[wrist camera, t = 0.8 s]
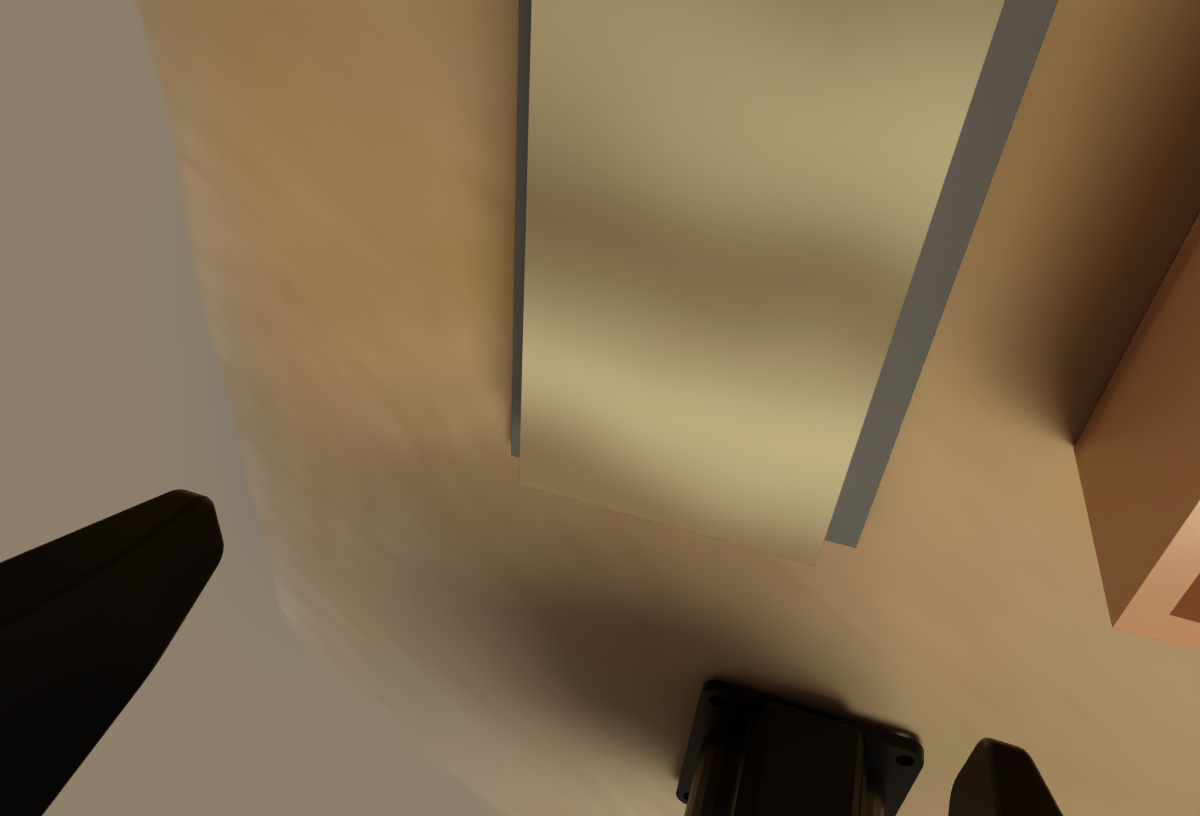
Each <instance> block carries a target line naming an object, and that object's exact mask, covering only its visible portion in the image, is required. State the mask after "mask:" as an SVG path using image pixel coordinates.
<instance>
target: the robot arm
mask: <svg viewBox="0 0 1200 816" xmlns="http://www.w3.org/2000/svg"><path fill="white" fill-rule="evenodd" d="M223 548H224V543H223V538H222V534H221V530H220V527H219V523H218V519H217V515H216V511H215V507H214V504H213V502H212V501H211V500H210V499H209V498H208V497H206V496H203V495H200V494H197V493H194V492H190V491H187V490H181V489H179V490H173V491H170V492H168V493H165V494H163V495H160V496H158V497H155V498H153V499H151V500H148V501H146V502H143V503H141V504H139V505H136V506H134V507H132V508H129V509H127V510H124V511H122V512H120V513H117V514H115V515H112V516H110V517H108V518H105V519H103V520H101V521H98V522H96V523H93V524H91V525H89V526H86V527H84V528H81V529H79V530H77V531H74V532H72V533H69V534H67V535H65V536H62V537H60V538H58V539H55V540H53V541H51V542H48V543H46V544H43V545H41V546H38V547H36V548H34V549H31V550H29V551H26V552H24V553H22V554H19V555H17V556H15V557H12V558H10V559H7V560H5V561H3V562H1V563H0V816H42V815H43V814H44V813H45V811H46V810H47V809H48V807H49V806H50V805H51V803H52V802H53V801H54V799H55V798H56V797H57V795H58V794H59V793H60V792H61V790H62V789H63V788H64V786H65V785H66V784H67V782H68V781H69V780H70V778H71V777H72V776H73V774H74V773H75V772H76V771H77V769H78V768H79V767H80V765H81V764H82V763H83V761H84V760H85V759H86V757H87V756H88V755H89V754H90V752H91V751H92V750H93V748H94V747H95V746H96V744H97V742H99V740H100V739H101V738H102V736H103V735H104V734H105V732H106V731H107V730H108V729H109V727H110V726H111V725H112V723H113V722H114V721H115V719H116V718H117V717H118V715H119V714H120V713H121V712H122V710H123V709H124V708H125V706H126V705H127V704H128V702H129V701H130V700H131V698H132V697H133V696H134V694H135V693H136V692H137V691H138V689H139V688H140V687H141V685H142V684H143V682H144V681H145V679H146V678H147V677H148V676H149V674H150V673H151V671H152V670H153V668H154V667H155V666H156V664H157V663H158V661H159V660H160V658H161V657H162V655H163V653H164V652H165V650H166V648H167V647H168V645H169V644H170V642H171V641H172V639H173V637H174V636H175V634H176V632H177V631H178V629H179V628H180V626H181V624H182V623H183V621H184V620H185V618H186V616H187V615H188V613H189V611H190V610H191V608H192V607H193V605H194V603H195V602H196V600H197V598H198V597H199V595H200V594H201V592H202V590H203V589H204V587H205V585H206V584H207V582H208V581H209V579H210V577H211V576H212V574H213V572H214V571H215V569H216V567H217V566H218V564H219V562H220V560H221V557H222V554H223ZM923 764H924V749H923V747H922V745H920V744H919V743H918V742H917V741H914V740H912V739H910V738H906V737H903V736H900V735H897V734H893V733H890V732H887V731H884V730H880V729H877V728H874V727H871V726H867V725H864V724H861V723H858V722H854V721H851V720H848V719H845V718H841V717H838V716H835V715H832V714H828V713H825V712H822V711H819V710H816V709H812V708H809V707H806V706H803V705H799V704H796V703H793V702H790V701H786V700H783V699H780V698H777V697H773V696H770V695H767V694H764V693H760V692H757V691H754V690H751V689H747V688H744V687H741V686H738V685H734V684H731V683H728V682H725V681H721V680H716V679H714V680H708V681H706V682H705V683H704V685H703V687H702V691H701V695H700V699H699V703H698V707H697V711H696V715H695V719H694V723H693V727H692V731H691V735H690V739H689V743H688V747H687V751H686V755H685V759H684V763H683V767H682V771H681V775H680V779H679V783H678V787H677V791H676V796H677V797H678V799H679V800H680V801H682V802H683V803H685V804H687V806H686V810H685V814H684V816H895V815H896V814H897V812H898V810H899V808H900V807H901V805H902V803H903V801H904V799H905V798H906V796H907V794H908V792H909V791H910V789H911V787H912V785H913V783H914V782H915V780H916V778H917V776H918V775H919V773H920V771H921V769H922V767H923ZM948 816H1063V814H1062V813H1061V811H1060V809H1059V807H1058V805H1057V804H1056V802H1055V800H1054V798H1053V796H1052V794H1051V793H1050V791H1049V789H1048V787H1047V785H1046V783H1045V782H1044V780H1043V778H1042V776H1041V774H1040V772H1039V771H1038V769H1037V767H1036V765H1035V763H1034V762H1033V760H1032V758H1031V756H1030V755H1029V754H1028V753H1027V752H1026V751H1025V750H1024V749H1022V748H1020V747H1018V746H1015V745H1011V744H1008V743H1005V742H1002V741H998V740H995V739H992V738H983V739H982V740H980V741H979V742H978V743H977V745H976V746H975V748H974V750H973V751H972V753H971V755H970V756H969V758H968V759H967V761H966V763H965V764H964V766H963V768H962V769H961V771H960V772H959V774H958V776H957V777H956V779H955V781H954V784H953V787H952V791H951V796H950V803H949V814H948Z"/></svg>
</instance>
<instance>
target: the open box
mask: <svg viewBox="0 0 1200 816" xmlns="http://www.w3.org/2000/svg"><path fill="white" fill-rule="evenodd" d="M1074 452H1075V457H1076V462H1077V466H1078V471H1079V475H1080V480H1081V485H1082V489H1083V494H1084V499H1085V503H1086V508H1087V513H1088V517H1089V522H1090V526H1091V531H1092V536H1093V540H1094V545H1095V550H1096V554H1097V559H1098V563H1099V568H1100V573H1101V577H1102V582H1103V587H1104V591H1105V596H1106V601H1107V605H1108V610H1109V614H1110V619H1111V624H1112V628H1115V629H1118V630H1122V631H1126V632H1129V633H1133V634H1137V635H1140V636H1144V637H1148V638H1151V639H1155V640H1159V641H1162V642H1166V643H1170V644H1173V645H1177V646H1181V647H1185V648H1188V649H1192V650H1196V651H1199V652H1200V213H1199V215H1198V217H1197V219H1196V220H1195V222H1194V224H1193V226H1192V228H1191V230H1190V232H1189V234H1188V235H1187V237H1186V239H1185V241H1184V243H1183V245H1182V247H1181V248H1180V250H1179V252H1178V254H1177V256H1176V258H1175V260H1174V262H1173V263H1172V265H1171V267H1170V269H1169V271H1168V273H1167V275H1166V276H1165V278H1164V280H1163V282H1162V284H1161V286H1160V288H1159V290H1158V291H1157V293H1156V295H1155V297H1154V299H1153V301H1152V303H1151V304H1150V306H1149V308H1148V310H1147V312H1146V314H1145V316H1144V318H1143V319H1142V321H1141V323H1140V325H1139V327H1138V329H1137V331H1136V332H1135V334H1134V336H1133V338H1132V340H1131V342H1130V344H1129V346H1128V347H1127V349H1126V351H1125V353H1124V355H1123V357H1122V359H1121V361H1120V362H1119V364H1118V366H1117V368H1116V370H1115V372H1114V374H1113V375H1112V377H1111V379H1110V381H1109V383H1108V385H1107V387H1106V389H1105V390H1104V392H1103V394H1102V396H1101V398H1100V400H1099V402H1098V403H1097V405H1096V407H1095V409H1094V411H1093V413H1092V415H1091V417H1090V418H1089V420H1088V422H1087V424H1086V426H1085V428H1084V430H1083V431H1082V433H1081V435H1080V437H1079V439H1078V441H1077V443H1076V445H1075V446H1074Z"/></svg>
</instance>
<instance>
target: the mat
mask: <svg viewBox="0 0 1200 816" xmlns="http://www.w3.org/2000/svg"><path fill="white" fill-rule="evenodd" d="M1057 2H1058V0H1005V1H1004V4H1003V7H1002V10H1001V13H1000V16H999V19H998V22H997V25H996V28H995V31H994V34H993V37H992V40H991V43H990V46H989V49H988V52H987V55H986V58H985V61H984V64H983V67H982V70H981V73H980V76H979V79H978V82H977V85H976V88H975V91H974V94H973V97H972V100H971V103H970V106H969V109H968V112H967V115H966V118H965V121H964V124H963V127H962V130H961V133H960V136H959V139H958V142H957V145H956V148H955V150H954V153H953V156H952V159H951V162H950V165H949V168H948V171H947V174H946V177H945V180H944V183H943V186H942V189H941V192H940V195H939V198H938V201H937V204H936V207H935V210H934V213H933V216H932V219H931V222H930V225H929V228H928V231H927V234H926V237H925V240H924V243H923V246H922V249H921V252H920V255H919V258H918V261H917V264H916V267H915V270H914V273H913V276H912V279H911V282H910V285H909V288H908V291H907V294H906V297H905V300H904V303H903V306H902V309H901V312H900V315H899V318H898V321H897V324H896V327H895V330H894V333H893V336H892V339H891V342H890V345H889V348H888V351H887V354H886V357H885V360H884V363H883V366H882V369H881V372H880V375H879V378H878V381H877V384H876V387H875V390H874V393H873V396H872V399H871V402H870V405H869V408H868V411H867V414H866V417H865V420H864V423H863V426H862V429H861V432H860V435H859V438H858V441H857V444H856V447H855V450H854V453H853V456H852V458H851V461H850V464H849V467H848V470H847V473H846V476H845V479H844V482H843V485H842V488H841V491H840V494H839V497H838V500H837V503H836V506H835V509H834V512H833V515H832V518H831V521H830V524H829V527H828V530H827V533H826V536H825V539H824V540H828V541H831V542H835V543H839V544H843V545H846V546H850V547H854V548H856V546H857V543H858V541H859V538H860V535H861V533H862V530H863V527H864V524H865V522H866V519H867V516H868V514H869V511H870V508H871V505H872V503H873V500H874V497H875V495H876V492H877V489H878V487H879V484H880V481H881V478H882V476H883V473H884V470H885V468H886V465H887V462H888V459H889V457H890V454H891V451H892V449H893V446H894V443H895V440H896V438H897V435H898V432H899V430H900V427H901V424H902V422H903V419H904V416H905V413H906V411H907V408H908V405H909V403H910V400H911V397H912V394H913V392H914V389H915V386H916V384H917V381H918V378H919V375H920V373H921V370H922V367H923V365H924V362H925V359H926V356H927V354H928V351H929V348H930V346H931V343H932V340H933V338H934V335H935V332H936V329H937V327H938V324H939V321H940V319H941V316H942V313H943V310H944V308H945V305H946V302H947V300H948V297H949V294H950V291H951V289H952V286H953V283H954V281H955V278H956V275H957V273H958V270H959V267H960V264H961V262H962V259H963V256H964V254H965V251H966V248H967V245H968V243H969V240H970V237H971V235H972V232H973V229H974V226H975V224H976V221H977V218H978V216H979V213H980V210H981V207H982V205H983V202H984V199H985V197H986V194H987V191H988V189H989V186H990V183H991V180H992V178H993V175H994V172H995V170H996V167H997V164H998V161H999V159H1000V156H1001V153H1002V151H1003V148H1004V145H1005V142H1006V140H1007V137H1008V134H1009V132H1010V129H1011V126H1012V123H1013V121H1014V118H1015V115H1016V113H1017V110H1018V107H1019V105H1020V102H1021V99H1022V96H1023V94H1024V91H1025V88H1026V86H1027V83H1028V80H1029V77H1030V75H1031V72H1032V69H1033V67H1034V64H1035V61H1036V58H1037V56H1038V53H1039V50H1040V48H1041V45H1042V42H1043V40H1044V37H1045V34H1046V31H1047V29H1048V26H1049V23H1050V21H1051V18H1052V15H1053V12H1054V10H1055V7H1056V4H1057ZM531 11H532V0H520V1H519V56H518V111H517V166H516V220H515V275H514V330H513V385H512V440H511V455H512V456H516V457H519V458H520V430H521V392H522V354H523V316H524V278H525V240H526V201H527V163H528V125H529V87H530V49H531Z"/></svg>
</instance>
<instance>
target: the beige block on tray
mask: <svg viewBox="0 0 1200 816" xmlns="http://www.w3.org/2000/svg"><path fill="white" fill-rule="evenodd" d="M1004 1H1005V0H532V11H531V49H530V87H529V125H528V163H527V201H526V240H525V278H524V316H523V354H522V392H521V430H520V469H519V485H522V486H526V487H529V488H533V489H537V490H540V491H544V492H548V493H551V494H555V495H558V496H562V497H566V498H569V499H573V500H577V501H580V502H584V503H587V504H591V505H595V506H598V507H602V508H606V509H609V510H613V511H616V512H620V513H624V514H627V515H631V516H635V517H638V518H642V519H645V520H649V521H653V522H656V523H660V524H664V525H667V526H671V527H674V528H678V529H682V530H685V531H689V532H693V533H696V534H700V535H704V536H707V537H711V538H714V539H718V540H722V541H725V542H729V543H733V544H736V545H740V546H743V547H747V548H751V549H754V550H758V551H762V552H765V553H769V554H772V555H776V556H780V557H783V558H787V559H791V560H794V561H798V562H801V563H805V564H809V565H812V566H816V563H817V560H818V557H819V554H820V551H821V548H822V545H823V542H824V539H825V536H826V533H827V530H828V527H829V524H830V521H831V518H832V515H833V512H834V509H835V506H836V503H837V500H838V497H839V494H840V491H841V488H842V485H843V482H844V479H845V476H846V473H847V470H848V467H849V464H850V461H851V458H852V456H853V453H854V450H855V447H856V444H857V441H858V438H859V435H860V432H861V429H862V426H863V423H864V420H865V417H866V414H867V411H868V408H869V405H870V402H871V399H872V396H873V393H874V390H875V387H876V384H877V381H878V378H879V375H880V372H881V369H882V366H883V363H884V360H885V357H886V354H887V351H888V348H889V345H890V342H891V339H892V336H893V333H894V330H895V327H896V324H897V321H898V318H899V315H900V312H901V309H902V306H903V303H904V300H905V297H906V294H907V291H908V288H909V285H910V282H911V279H912V276H913V273H914V270H915V267H916V264H917V261H918V258H919V255H920V252H921V249H922V246H923V243H924V240H925V237H926V234H927V231H928V228H929V225H930V222H931V219H932V216H933V213H934V210H935V207H936V204H937V201H938V198H939V195H940V192H941V189H942V186H943V183H944V180H945V177H946V174H947V171H948V168H949V165H950V162H951V159H952V156H953V153H954V150H955V148H956V145H957V142H958V139H959V136H960V133H961V130H962V127H963V124H964V121H965V118H966V115H967V112H968V109H969V106H970V103H971V100H972V97H973V94H974V91H975V88H976V85H977V82H978V79H979V76H980V73H981V70H982V67H983V64H984V61H985V58H986V55H987V52H988V49H989V46H990V43H991V40H992V37H993V34H994V31H995V28H996V25H997V22H998V19H999V16H1000V13H1001V10H1002V7H1003V4H1004Z"/></svg>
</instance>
